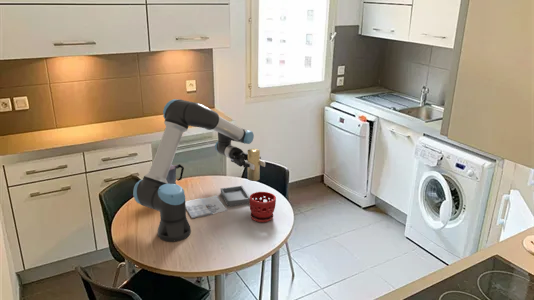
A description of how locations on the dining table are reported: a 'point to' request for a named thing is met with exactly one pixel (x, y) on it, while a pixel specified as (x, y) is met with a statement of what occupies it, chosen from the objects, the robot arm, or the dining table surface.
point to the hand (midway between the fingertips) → (259, 165)
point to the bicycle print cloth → (199, 209)
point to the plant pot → (262, 206)
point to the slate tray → (235, 195)
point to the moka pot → (174, 174)
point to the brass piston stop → (254, 159)
